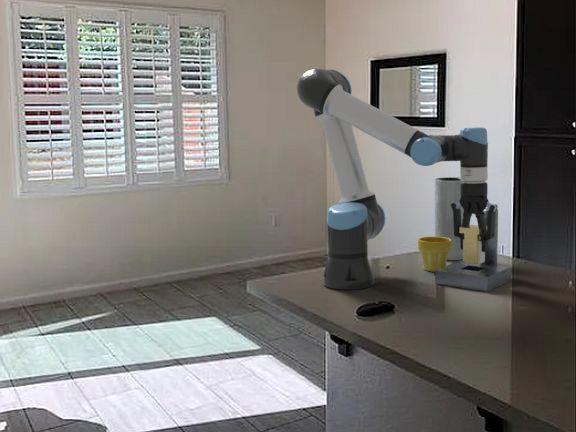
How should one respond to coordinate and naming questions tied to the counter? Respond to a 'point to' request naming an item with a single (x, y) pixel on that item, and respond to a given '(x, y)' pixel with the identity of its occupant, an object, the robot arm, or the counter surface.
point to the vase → (447, 213)
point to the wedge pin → (471, 243)
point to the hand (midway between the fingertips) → (473, 261)
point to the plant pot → (434, 252)
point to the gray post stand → (477, 269)
